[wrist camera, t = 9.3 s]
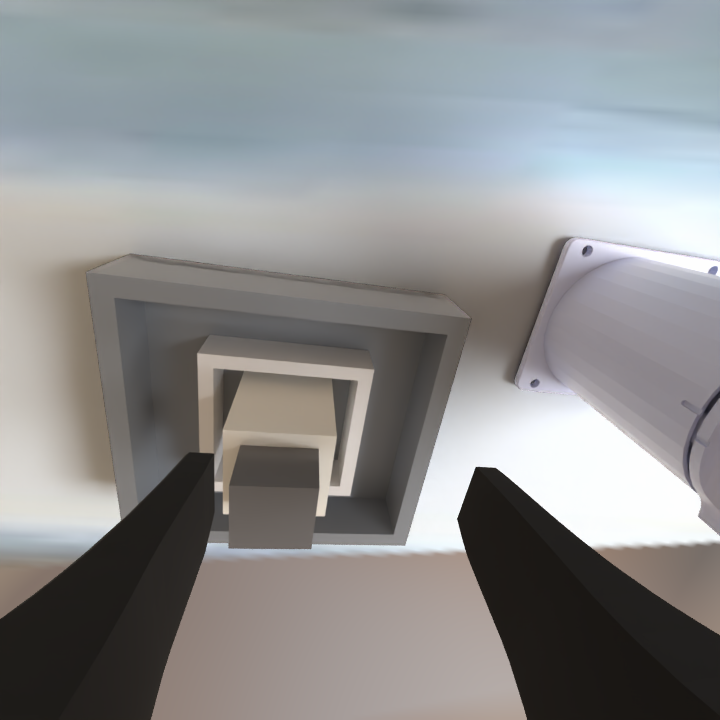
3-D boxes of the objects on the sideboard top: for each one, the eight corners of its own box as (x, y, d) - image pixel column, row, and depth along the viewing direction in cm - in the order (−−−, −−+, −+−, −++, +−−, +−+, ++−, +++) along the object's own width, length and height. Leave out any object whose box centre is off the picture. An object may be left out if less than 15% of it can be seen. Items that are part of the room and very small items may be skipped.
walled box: (444, 294, 18) (471, 318, 15) (392, 496, 24) (405, 545, 20) (130, 253, 16) (85, 271, 13) (152, 487, 21) (124, 541, 18)
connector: (331, 373, 18) (340, 474, 12) (322, 440, 20) (326, 560, 14) (245, 366, 18) (208, 469, 11) (244, 436, 19) (210, 560, 13)
